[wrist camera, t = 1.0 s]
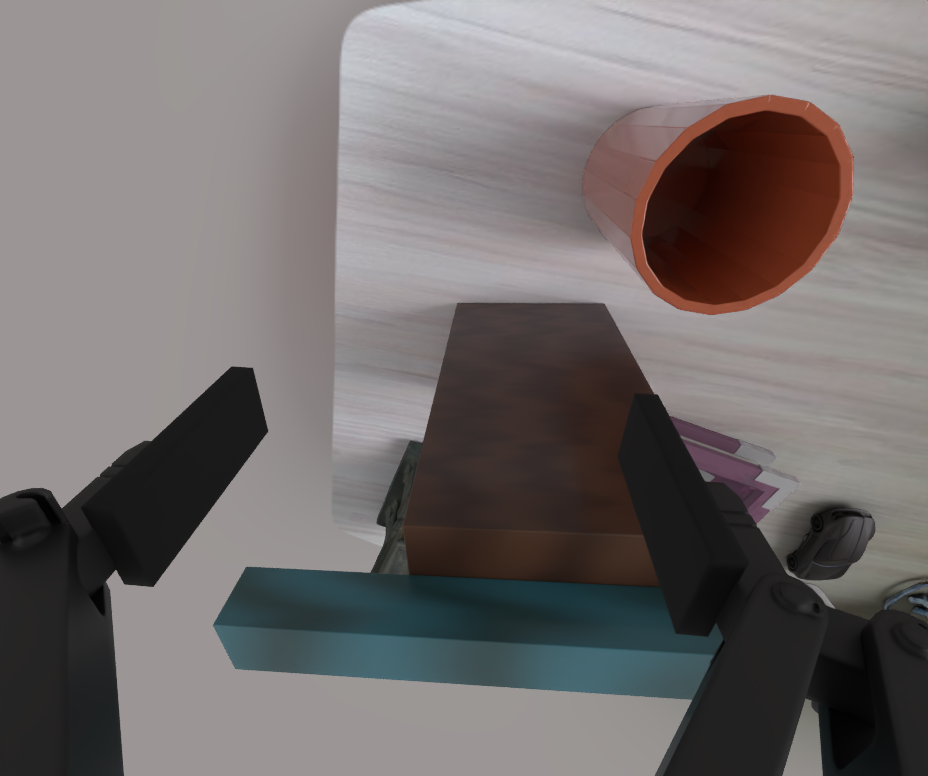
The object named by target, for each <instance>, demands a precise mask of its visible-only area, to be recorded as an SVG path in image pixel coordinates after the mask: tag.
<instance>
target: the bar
mask: <svg viewBox="0 0 928 776" xmlns="http://www.w3.org/2000/svg"><path fill="white" fill-rule="evenodd" d="M213 626H214V628H215V630H216V632H217V634H218V636H219V638H220V640H221V642H222V644H223V646H224V648H225V650H226V652H227V654H228V656H229V658H230V660H231V661H232V663H233V665H234V667H235V669H243V670H258V671H273V672H288V673H302V674H317V675H318V674H319V675H332V676H347V677H348V676H349V677H363V678H377V679H392V680H408V681H423V682H437V683H452V684H466V685H481V686H496V687H511V688H526V689H541V690H556V691H571V692H586V693H602V694H616V695H631V696H645V697H660V698H661V697H662V698H676V699H691V700H693V698H694V696H695V694H696V692H697V690H698V688H699V686H700V684H701V682H702V680H703V678H704V676H705V674H706V672H707V670H708V668H709V666H710V661H711V659H712V658H713V656H714V654H715V653H716V651H717V649H718V647H719V646H720V644H721V642H722V641H723V637H722V635H721V632H720V630H719V628H718V625H717V623H716V624H715V625H714V627H713V629H712V631H711V633H710V634H709V636H708V637H704V636H693V635H682V634H676V633H675V630H674V627H673V624H672V621H671V618H670V615H669V612H668V609H667V606H666V603H665V600H664V597H663V594H662V591H661V588H660V587H646V586H625V585H605V584H585V583H565V582H544V581H524V580H504V579H484V578H464V577H443V576H423V575H403V574H383V573H362V572H342V571H341V572H340V571H322V570H302V569H300V570H299V569H281V568H261V567H246V568H245V570H244V572H243V574H242V575H241V577H240V579H239V580H238V582H237V584H236V586H235V587H234V589H233V591H232V593H231V594H230V596H229V598H228V600H227V601H226V603H225V605H224V607H223V608H222V610H221V612H220V614H219V615H218V617H217V619H216V621H215V622H214V624H213Z"/></svg>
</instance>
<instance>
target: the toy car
mask: <svg viewBox="0 0 928 776" xmlns="http://www.w3.org/2000/svg"><path fill="white" fill-rule="evenodd" d="M854 519H855V520H854ZM853 520H854V521H853ZM852 521H853V522H852ZM811 525H812V527H811V531H810V533H809V535H805V536H804V537H803V544H802V546H801V547H800V548H799V549H798V550H797V551H796V552H795V555H793V554H790V555H788V557H787V563H788V570H789V571H790V572H792V573H794V574H795V575H796V576H797V577H798V578H801V579H806V580H829V579H837V578H839V577H841V576H843V575H844V574H845V572H846V571H847V570H848V568H849V567H850V566H851V564H852V563H855V562H857V561H858V560H859V559H860V558H861V556H862V555H863V553H864V551H865V548H866V546H867V543H868V541H869V540H870V539H871V538H872V537H873V536H874V533H875V522H874V519H873V518H872V516H871V514H870V513H869V512H867V511H864V510H860V509H853V508H840V509H834V510H831V511H828V512H826V513H823V514H821V515H813V516H812V518H811Z"/></svg>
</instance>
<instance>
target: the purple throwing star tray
mask: <svg viewBox="0 0 928 776" xmlns="http://www.w3.org/2000/svg"><path fill="white" fill-rule="evenodd" d="M670 418H671V420H672V422H673V424H674V426H675V427H676V429H677V431H678V433H679V435H680V436H681V438H682V440H683V442H684V444H685V446H686V447H687V449H688V451H689V453H690V455H691V457H692V458H693V460H694V462H695V464H696V466H697V468H698V469H699V471H700V473H701V475H702V477H703V479H704V480H705V481H707V482H721V483H725V484H726V485H727V486H728V487H729V488H730V489H731V490H733V491H734V492H735V493H736V494H737V495H738V496H739V497H740V498H741V500H742V501H743V503H744V505H745V506H746V508H747V510H748V511H749V515H751V516H752V518H753V519H754V521H755V523H756V524H757V523H758V522H759V521H760V520H761V519H762V518H763V517H764V516H765V515H766V514H767V513H768V512H769V511H770V510H772V511H773V510H774V509H775V508H776V507H777V506H778V505H779V504H780V503H781V502H782V501H783V500H784V499H785V498H786V497H787V496H788V495H789V494H790V493H791V492H793V491H794V490H795V489H796V488H797V487H798V486H799V485H800V482H799V481H798V480H797V479H796V477H794V476H791V475H788V474H785V473H782V472H779V471H776V470H774V469H771V468H768V466H769V465H770V463H771V462H772V461H773V460H774V459H775V458H776V456H775V455H774V454H773V453H772V452H771V451H769V450H766V449H763V448H760V447H757V446H755V445H752V444H749V443H746V442H743V441H741V440H736V439H733V438H730V437H727V436H724V435H722V434H719V433H716V432H713V431H710V430H708V429H705V428H702V427H699V426H696V425H694V424H691V423H688V422H685V421H682V420H680V419H677V418H674V417H671V416H670Z"/></svg>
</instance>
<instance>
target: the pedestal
mask: <svg viewBox="0 0 928 776" xmlns="http://www.w3.org/2000/svg"><path fill="white" fill-rule="evenodd" d="M634 393H642V394H654V393H653V391H652V389H651V387H650V385H649V384H648V382H647V380H646V378H645V376H644V375H643V373H642V371H641V369H640V367H639V366H638V364H637V362H636V360H635V358H634V356H633V355H632V353H631V351H630V349H629V347H628V346H627V344H626V342H625V340H624V338H623V336H622V335H621V333H620V331H619V329H618V327H617V326H616V324H615V322H614V320H613V318H612V316H611V315H610V313H609V311H608V309H607V307H606V306H605V304H527V303H457V307H456V311H455V315H454V319H453V323H452V327H451V331H450V335H449V339H448V343H447V347H446V351H445V355H444V359H443V363H442V367H441V372H440V376H439V380H438V384H437V388H436V392H435V396H434V400H433V404H432V408H431V412H430V416H429V420H428V424H427V428H426V432H425V436H424V441H423V445H422V449H421V453H420V457H419V461H418V465H417V469H416V473H415V477H414V481H413V485H412V489H411V493H410V497H409V501H408V505H407V509H406V514H405V518H404V522H403V533H404V541H405V549H406V557H407V564H408V572H409V575H423V576H443V577H464V578H484V579H504V580H524V581H544V582H565V583H585V584H605V585H625V586H646V587H660V585H659V581H658V578H657V575H656V572H655V569H654V566H653V563H652V560H651V557H650V554H649V551H648V548H647V545H646V542H645V539H644V536H643V533H642V530H641V527H640V524H639V521H638V518H637V515H636V512H635V509H634V506H633V503H632V500H631V497H630V494H629V491H628V488H627V485H626V482H625V479H624V476H623V473H622V470H621V467H620V463H619V460H618V457H617V456H618V452H619V448H620V444H621V441H622V437H623V433H624V430H625V426H626V422H627V418H628V415H629V411H630V407H631V404H632V400H633V396H634Z"/></svg>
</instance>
